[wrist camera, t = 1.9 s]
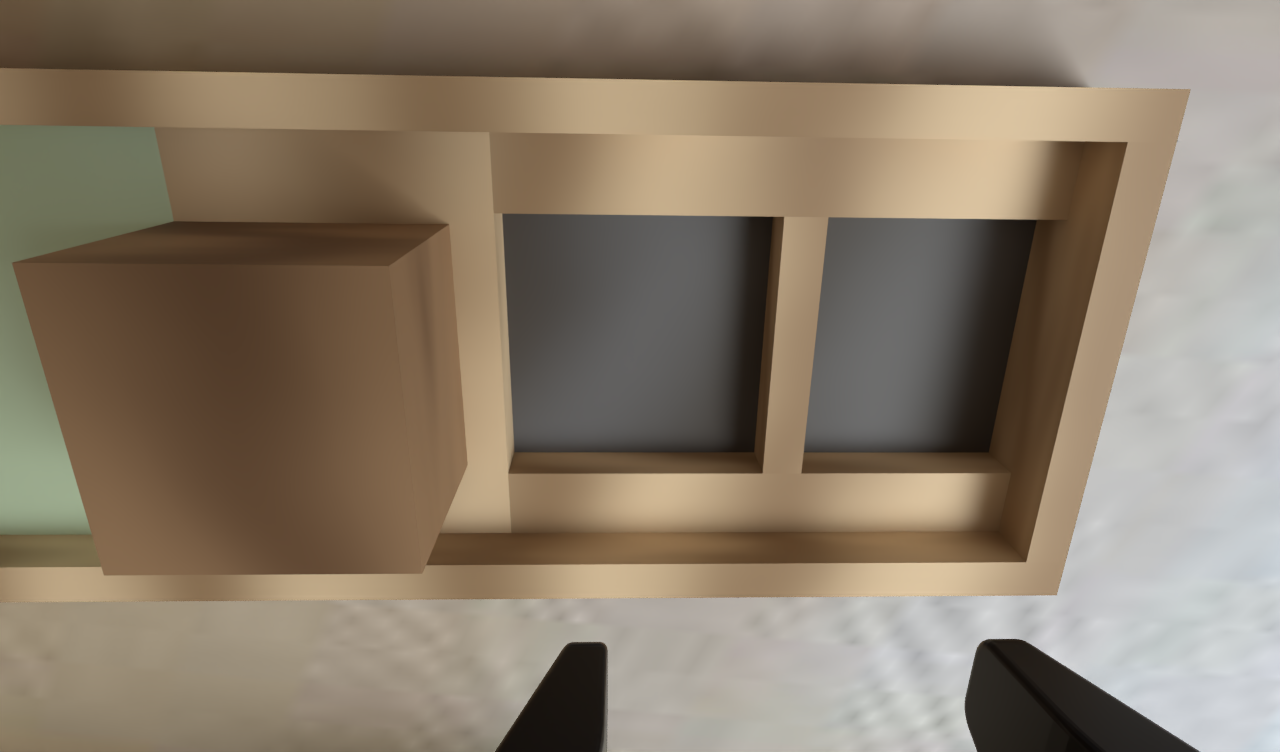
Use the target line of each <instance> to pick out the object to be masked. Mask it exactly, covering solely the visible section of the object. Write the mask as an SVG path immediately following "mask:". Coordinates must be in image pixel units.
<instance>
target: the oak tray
mask: <svg viewBox="0 0 1280 752" xmlns="http://www.w3.org/2000/svg"><path fill="white" fill-rule="evenodd" d="M1190 90H1191V89H1141V88H1086V87H1030V86H974V85H918V84H862V83H807V82H751V81H695V80H639V79H583V78H528V77H472V76H416V75H360V74H304V73H249V72H193V71H137V70H81V69H25V68H0V125H47V126H112V127H154V129H155V134H156V139H157V143H158V148H159V153H160V158H161V163H162V167H163V172H164V177H165V182H166V186H167V191H168V196H169V201H170V205H171V210H172V215H173V220H174V221H194V222H286V223H377V224H449V228H450V241H451V254H452V267H453V280H454V293H455V306H456V319H457V332H458V345H459V358H460V371H461V384H462V397H463V410H464V423H465V436H466V449H467V462H468V466H467V468H466V470H465V473H464V475H463V478H462V480H461V482H460V485H459V487H458V490H457V492H456V494H455V497H454V499H453V502H452V504H451V506H450V509H449V511H448V513H447V516H446V518H445V521H444V523H443V525H442V528H441V530H440V533H439V535H438V537H437V540H436V542H435V545H434V547H433V549H432V552H431V554H430V557H429V559H428V561H427V564H426V566H425V569H424V571H423V573H422V574H293V575H111V576H104V574H103V571H102V567H101V564H100V561H99V557H98V554H97V550H96V547H95V544H94V540H93V537H92V535H0V602H115V601H264V600H413V599H563V598H712V597H861V596H1011V595H1057V592H1058V588H1059V584H1060V581H1061V577H1062V573H1063V569H1064V566H1065V562H1066V558H1067V554H1068V550H1069V547H1070V543H1071V539H1072V535H1073V532H1074V528H1075V524H1076V520H1077V516H1078V513H1079V509H1080V505H1081V501H1082V498H1083V494H1084V490H1085V486H1086V483H1087V479H1088V475H1089V471H1090V467H1091V464H1092V460H1093V456H1094V452H1095V449H1096V445H1097V441H1098V437H1099V433H1100V430H1101V426H1102V422H1103V418H1104V415H1105V411H1106V407H1107V403H1108V399H1109V396H1110V392H1111V388H1112V384H1113V381H1114V377H1115V373H1116V369H1117V365H1118V362H1119V358H1120V354H1121V350H1122V347H1123V343H1124V339H1125V335H1126V331H1127V328H1128V324H1129V320H1130V316H1131V313H1132V309H1133V305H1134V301H1135V297H1136V294H1137V290H1138V286H1139V282H1140V279H1141V275H1142V271H1143V267H1144V263H1145V260H1146V256H1147V252H1148V248H1149V245H1150V241H1151V237H1152V233H1153V229H1154V226H1155V222H1156V218H1157V214H1158V211H1159V207H1160V203H1161V199H1162V195H1163V192H1164V188H1165V184H1166V180H1167V177H1168V173H1169V169H1170V165H1171V161H1172V158H1173V154H1174V150H1175V146H1176V143H1177V139H1178V135H1179V131H1180V127H1181V124H1182V120H1183V116H1184V112H1185V109H1186V105H1187V101H1188V97H1189V93H1190Z"/></svg>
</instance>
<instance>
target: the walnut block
mask: <svg viewBox="0 0 1280 752" xmlns="http://www.w3.org/2000/svg"><path fill="white" fill-rule="evenodd" d="M12 265H13V269H14V272H15V275H16V279H17V282H18V286H19V289H20V292H21V296H22V299H23V303H24V306H25V309H26V313H27V316H28V320H29V323H30V326H31V330H32V333H33V336H34V340H35V343H36V347H37V350H38V353H39V357H40V360H41V364H42V367H43V370H44V374H45V377H46V381H47V384H48V387H49V391H50V394H51V398H52V401H53V404H54V408H55V411H56V415H57V418H58V421H59V425H60V428H61V432H62V435H63V438H64V442H65V445H66V449H67V452H68V455H69V459H70V462H71V466H72V469H73V472H74V476H75V479H76V483H77V486H78V489H79V493H80V496H81V499H82V503H83V506H84V510H85V513H86V516H87V520H88V523H89V527H90V530H91V533H92V537H93V540H94V544H95V547H96V550H97V554H98V557H99V561H100V564H101V567H102V571H103V574H104V576H111V575H293V574H422V573H423V571H424V569H425V566H426V564H427V561H428V559H429V557H430V554H431V552H432V549H433V547H434V545H435V542H436V540H437V537H438V535H439V533H440V530H441V528H442V525H443V523H444V521H445V518H446V516H447V513H448V511H449V509H450V506H451V504H452V502H453V499H454V497H455V494H456V492H457V490H458V487H459V485H460V482H461V480H462V478H463V475H464V473H465V470H466V468H467V466H468V462H467V449H466V436H465V423H464V410H463V397H462V384H461V371H460V358H459V345H458V332H457V319H456V306H455V293H454V280H453V267H452V254H451V241H450V228H449V224H377V223H286V222H194V221H173V222H169V223H165V224H161V225H157V226H153V227H150V228H146V229H142V230H138V231H134V232H130V233H126V234H122V235H118V236H114V237H110V238H106V239H103V240H99V241H95V242H91V243H87V244H83V245H79V246H75V247H71V248H67V249H63V250H60V251H56V252H52V253H48V254H44V255H40V256H36V257H32V258H28V259H24V260H20V261H16V262H13V263H12Z"/></svg>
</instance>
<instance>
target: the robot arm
mask: <svg viewBox="0 0 1280 752" xmlns="http://www.w3.org/2000/svg"><path fill="white" fill-rule="evenodd" d="M607 714H608V650H607V646H606V645H605V644H604V643H602V642H572V643H569V644H567V645H566V646H565V647H564V648H563V650H562V651H561V653H560V654H559V656H558V657H557V659H556V660H555V662H554V663H553V665H552V666H551V668H550V669H549V671H548V672H547V674H546V675H545V677H544V678H543V680H542V681H541V683H540V684H539V686H538V687H537V689H536V690H535V692H534V693H533V695H532V696H531V698H530V700H529V701H528V703H527V704H526V706H525V707H524V709H523V710H522V712H521V713H520V715H519V716H518V718H517V719H516V721H515V722H514V724H513V725H512V727H511V728H510V730H509V731H508V733H507V734H506V736H505V737H504V739H503V740H502V742H501V743H500V745H499V746H498V748H497V749H496V751H495V752H607ZM965 715H966V720H967V724H968V727H969V730H970V733H971V736H972V738H973V741H974V744H975V747H976V749H977V752H1200V751H1198V750H1197V749H1195V748H1193V747H1192V746H1190V745H1189V744H1187V743H1186V742H1184V741H1182V740H1181V739H1179V738H1178V737H1176V736H1174V735H1173V734H1171V733H1170V732H1168V731H1167V730H1165V729H1163V728H1162V727H1160V726H1159V725H1157V724H1156V723H1154V722H1152V721H1151V720H1149V719H1148V718H1146V717H1144V716H1143V715H1141V714H1140V713H1138V712H1137V711H1135V710H1133V709H1132V708H1130V707H1129V706H1127V705H1126V704H1124V703H1122V702H1121V701H1119V700H1118V699H1116V698H1114V697H1113V696H1111V695H1110V694H1108V693H1107V692H1105V691H1103V690H1102V689H1100V688H1099V687H1097V686H1096V685H1094V684H1092V683H1091V682H1089V681H1088V680H1086V679H1084V678H1083V677H1081V676H1080V675H1078V674H1077V673H1075V672H1073V671H1072V670H1070V669H1069V668H1067V667H1066V666H1064V665H1062V664H1061V663H1059V662H1058V661H1056V660H1054V659H1053V658H1051V657H1050V656H1048V655H1047V654H1045V653H1043V652H1042V651H1040V650H1039V649H1037V648H1036V647H1034V646H1032V645H1031V644H1029V643H1027V642H1025V641H1023V640H1019V639H988V640H985V641H982V642H981V643H980V644H979V646H978V647H977V650H976V653H975V658H974V662H973V666H972V671H971V675H970V680H969V684H968V688H967V693H966V697H965Z"/></svg>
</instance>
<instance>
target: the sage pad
mask: <svg viewBox="0 0 1280 752" xmlns="http://www.w3.org/2000/svg"><path fill="white" fill-rule="evenodd" d="M173 221H174V220H173V215H172V210H171V205H170V201H169V196H168V191H167V186H166V182H165V177H164V172H163V167H162V163H161V158H160V153H159V148H158V143H157V139H156V134H155V129H154V127H112V126H47V125H0V535H92V533H91V530H90V527H89V523H88V520H87V516H86V513H85V510H84V506H83V503H82V499H81V496H80V493H79V489H78V486H77V483H76V479H75V476H74V472H73V469H72V466H71V462H70V459H69V455H68V452H67V449H66V445H65V442H64V438H63V435H62V432H61V428H60V425H59V421H58V418H57V415H56V411H55V408H54V404H53V401H52V398H51V394H50V391H49V387H48V384H47V381H46V377H45V374H44V370H43V367H42V364H41V360H40V357H39V353H38V350H37V347H36V343H35V340H34V336H33V333H32V330H31V326H30V323H29V320H28V316H27V313H26V309H25V306H24V303H23V299H22V296H21V292H20V289H19V286H18V282H17V279H16V275H15V272H14V269H13V265H12V263H13V262H16V261H20V260H24V259H28V258H32V257H36V256H40V255H44V254H48V253H52V252H56V251H60V250H63V249H67V248H71V247H75V246H79V245H83V244H87V243H91V242H95V241H99V240H103V239H106V238H110V237H114V236H118V235H122V234H126V233H130V232H134V231H138V230H142V229H146V228H150V227H153V226H157V225H161V224H165V223H169V222H173Z"/></svg>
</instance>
